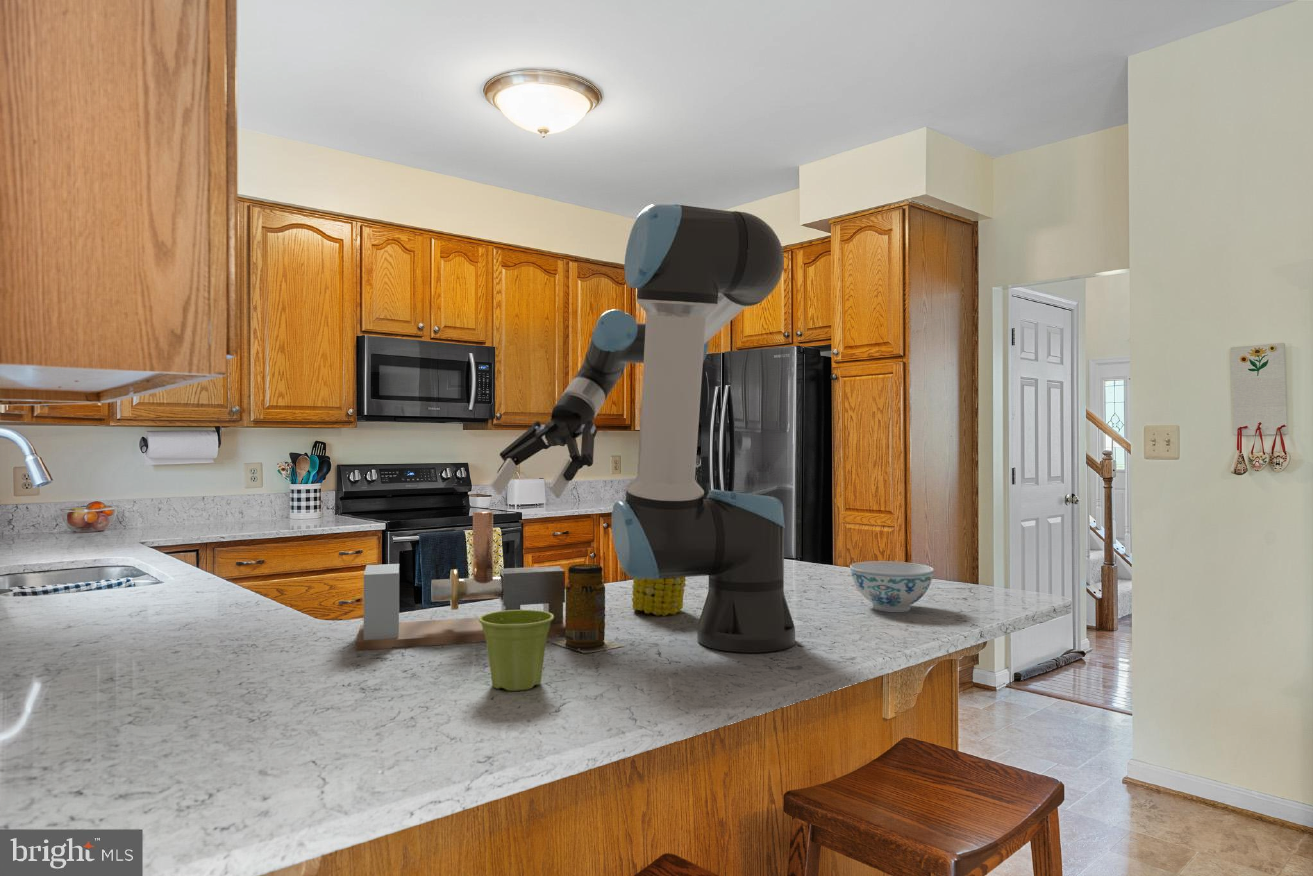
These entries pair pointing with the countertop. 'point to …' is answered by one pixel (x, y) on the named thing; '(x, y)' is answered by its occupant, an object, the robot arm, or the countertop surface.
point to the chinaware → (891, 583)
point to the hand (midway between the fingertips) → (523, 491)
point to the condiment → (585, 610)
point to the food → (658, 595)
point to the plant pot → (516, 646)
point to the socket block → (381, 601)
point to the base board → (437, 633)
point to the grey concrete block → (534, 589)
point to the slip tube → (483, 578)
